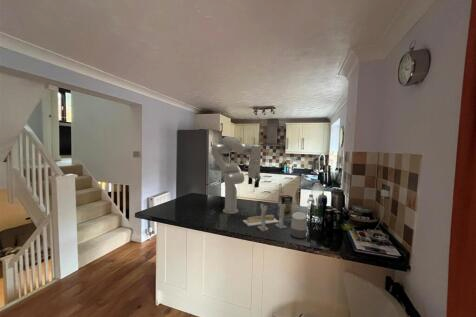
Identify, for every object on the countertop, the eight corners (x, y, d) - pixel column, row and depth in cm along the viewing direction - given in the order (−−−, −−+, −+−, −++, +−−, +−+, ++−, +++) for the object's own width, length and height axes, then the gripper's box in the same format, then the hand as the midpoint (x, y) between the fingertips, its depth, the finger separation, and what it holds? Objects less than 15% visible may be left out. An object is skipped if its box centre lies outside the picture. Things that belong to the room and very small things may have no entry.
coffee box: (281, 218, 156) (282, 197, 155) (277, 215, 163) (278, 195, 162) (292, 217, 159) (292, 196, 158) (287, 214, 165) (288, 194, 164)
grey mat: (242, 221, 148) (242, 220, 148) (271, 217, 157) (271, 216, 157) (248, 226, 139) (248, 225, 139) (279, 222, 148) (279, 221, 148)
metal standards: (257, 227, 137) (258, 203, 136) (281, 224, 144) (282, 201, 143) (261, 231, 132) (262, 206, 131) (286, 227, 139) (287, 203, 138)
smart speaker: (288, 237, 124) (289, 214, 123) (293, 232, 132) (294, 210, 131) (304, 241, 119) (305, 217, 118) (308, 235, 127) (309, 213, 126)
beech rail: (247, 221, 146) (247, 217, 146) (271, 218, 153) (272, 214, 153) (249, 223, 143) (249, 218, 143) (274, 219, 151) (274, 215, 150)
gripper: (244, 160, 154) (243, 183, 155) (256, 163, 138) (254, 188, 140) (253, 160, 157) (252, 182, 158) (265, 163, 141) (263, 188, 143)
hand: (253, 185), depth 149 cm, fingers open, 9 cm apart
